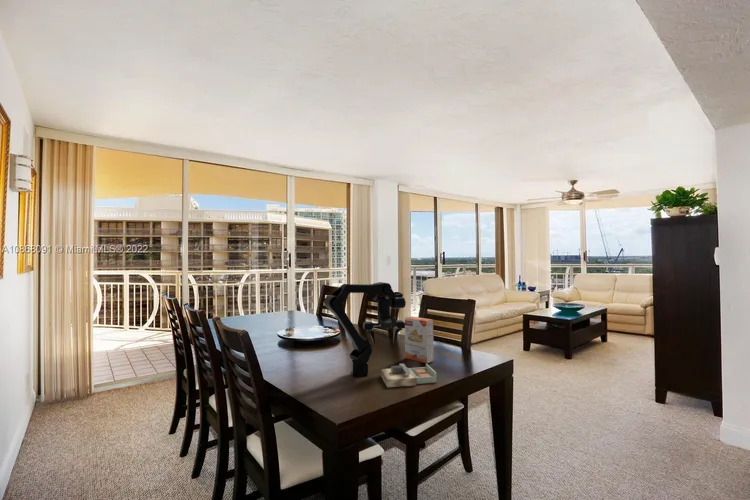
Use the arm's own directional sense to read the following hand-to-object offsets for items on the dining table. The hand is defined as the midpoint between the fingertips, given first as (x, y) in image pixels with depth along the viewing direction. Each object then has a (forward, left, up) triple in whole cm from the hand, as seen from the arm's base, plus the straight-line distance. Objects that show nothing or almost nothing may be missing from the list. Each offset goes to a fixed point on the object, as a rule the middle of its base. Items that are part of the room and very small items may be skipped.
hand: (384, 343), depth 172 cm
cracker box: (+20, +12, -12) cm, 26 cm away
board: (+3, -15, -12) cm, 19 cm away
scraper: (+7, -14, -8) cm, 17 cm away
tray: (+14, -14, -12) cm, 23 cm away
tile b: (+14, -11, -10) cm, 20 cm away
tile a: (+14, -17, -10) cm, 24 cm away
